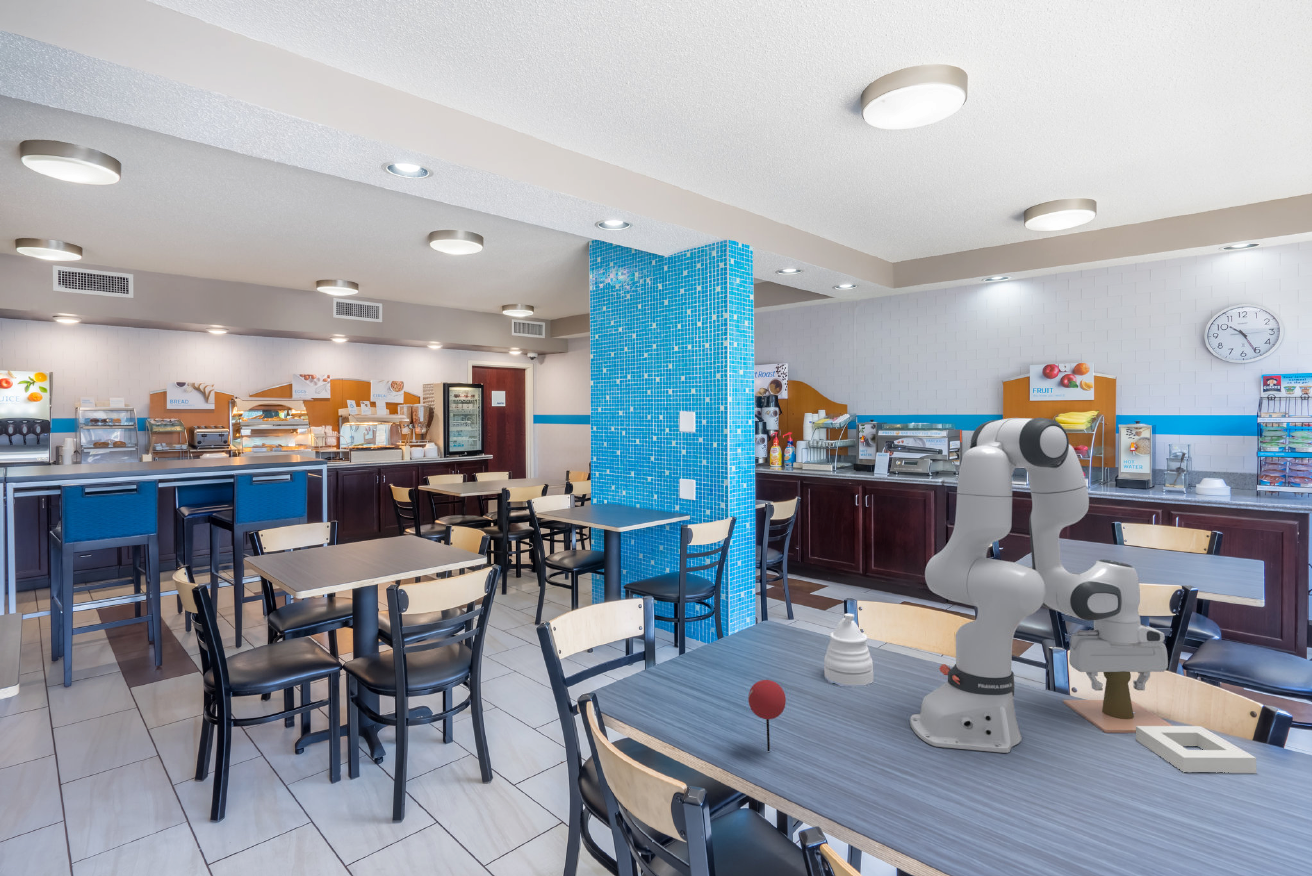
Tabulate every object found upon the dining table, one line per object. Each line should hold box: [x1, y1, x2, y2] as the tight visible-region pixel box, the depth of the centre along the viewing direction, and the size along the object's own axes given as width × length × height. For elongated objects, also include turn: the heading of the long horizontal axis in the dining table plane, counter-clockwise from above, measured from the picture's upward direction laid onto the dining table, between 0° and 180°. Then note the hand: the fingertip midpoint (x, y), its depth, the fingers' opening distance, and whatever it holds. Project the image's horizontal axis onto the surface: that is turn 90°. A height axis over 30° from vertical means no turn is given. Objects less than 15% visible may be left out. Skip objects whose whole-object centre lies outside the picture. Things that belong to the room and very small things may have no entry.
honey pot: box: [823, 613, 874, 686], centre depth 175 cm, size 13×13×18 cm
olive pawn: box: [1102, 671, 1134, 719], centre depth 149 cm, size 6×6×11 cm
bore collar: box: [1135, 725, 1257, 774], centre depth 130 cm, size 13×13×3 cm
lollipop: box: [747, 679, 787, 752], centre depth 136 cm, size 8×8×15 cm
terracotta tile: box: [1062, 699, 1174, 734], centre depth 148 cm, size 16×16×1 cm
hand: (1118, 689), depth 148 cm, fingers open, 8 cm apart
